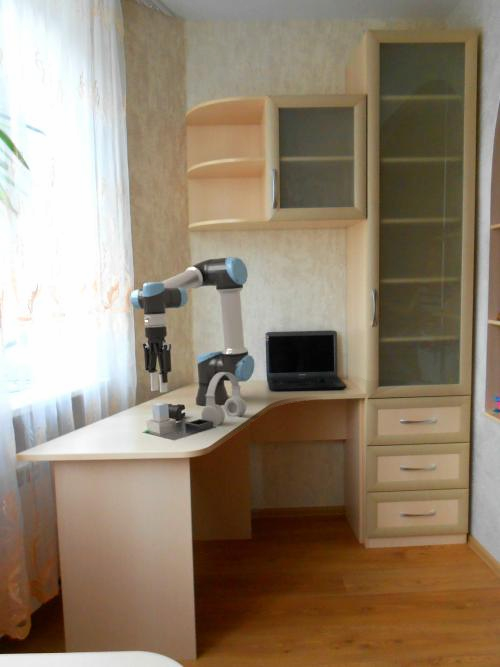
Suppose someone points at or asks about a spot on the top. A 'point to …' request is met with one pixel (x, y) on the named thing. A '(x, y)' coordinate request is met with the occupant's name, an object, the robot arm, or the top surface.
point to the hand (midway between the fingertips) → (159, 390)
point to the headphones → (232, 405)
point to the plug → (160, 412)
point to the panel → (177, 428)
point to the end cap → (176, 411)
